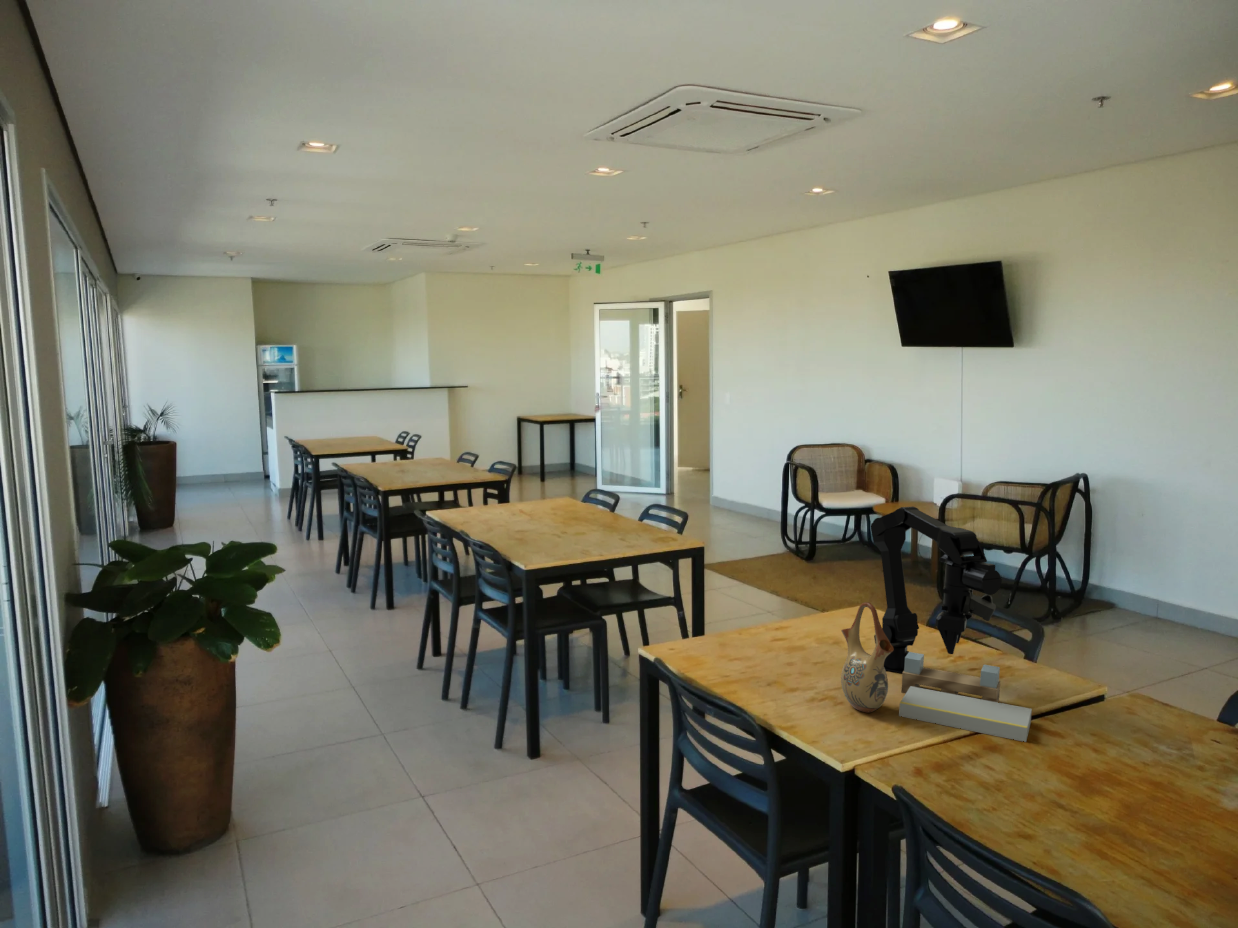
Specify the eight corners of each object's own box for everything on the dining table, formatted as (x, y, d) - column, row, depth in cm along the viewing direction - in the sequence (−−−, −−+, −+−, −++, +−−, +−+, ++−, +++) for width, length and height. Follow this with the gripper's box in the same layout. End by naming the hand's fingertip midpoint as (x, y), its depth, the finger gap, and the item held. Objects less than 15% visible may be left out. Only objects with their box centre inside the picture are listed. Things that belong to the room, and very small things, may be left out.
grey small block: (904, 671, 209) (904, 657, 209) (908, 665, 214) (909, 651, 213) (919, 674, 208) (920, 660, 207) (923, 668, 212) (924, 654, 212)
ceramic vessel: (825, 698, 205) (829, 594, 202) (856, 693, 209) (861, 591, 206) (870, 725, 190) (875, 614, 187) (903, 719, 194) (909, 610, 191)
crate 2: (979, 685, 201) (980, 670, 201) (982, 678, 205) (983, 664, 205) (996, 688, 199) (997, 673, 199) (998, 681, 204) (999, 667, 203)
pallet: (901, 692, 210) (902, 672, 209) (906, 683, 215) (907, 664, 215) (995, 710, 199) (997, 689, 199) (998, 701, 205) (1000, 680, 204)
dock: (899, 715, 196) (899, 702, 195) (909, 698, 206) (910, 685, 206) (1026, 741, 183) (1027, 727, 182) (1030, 721, 193) (1031, 708, 193)
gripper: (990, 598, 192) (985, 666, 194) (998, 579, 208) (994, 642, 210) (937, 591, 197) (933, 657, 199) (949, 573, 214) (945, 635, 216)
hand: (953, 648), depth 206 cm, fingers open, 9 cm apart
